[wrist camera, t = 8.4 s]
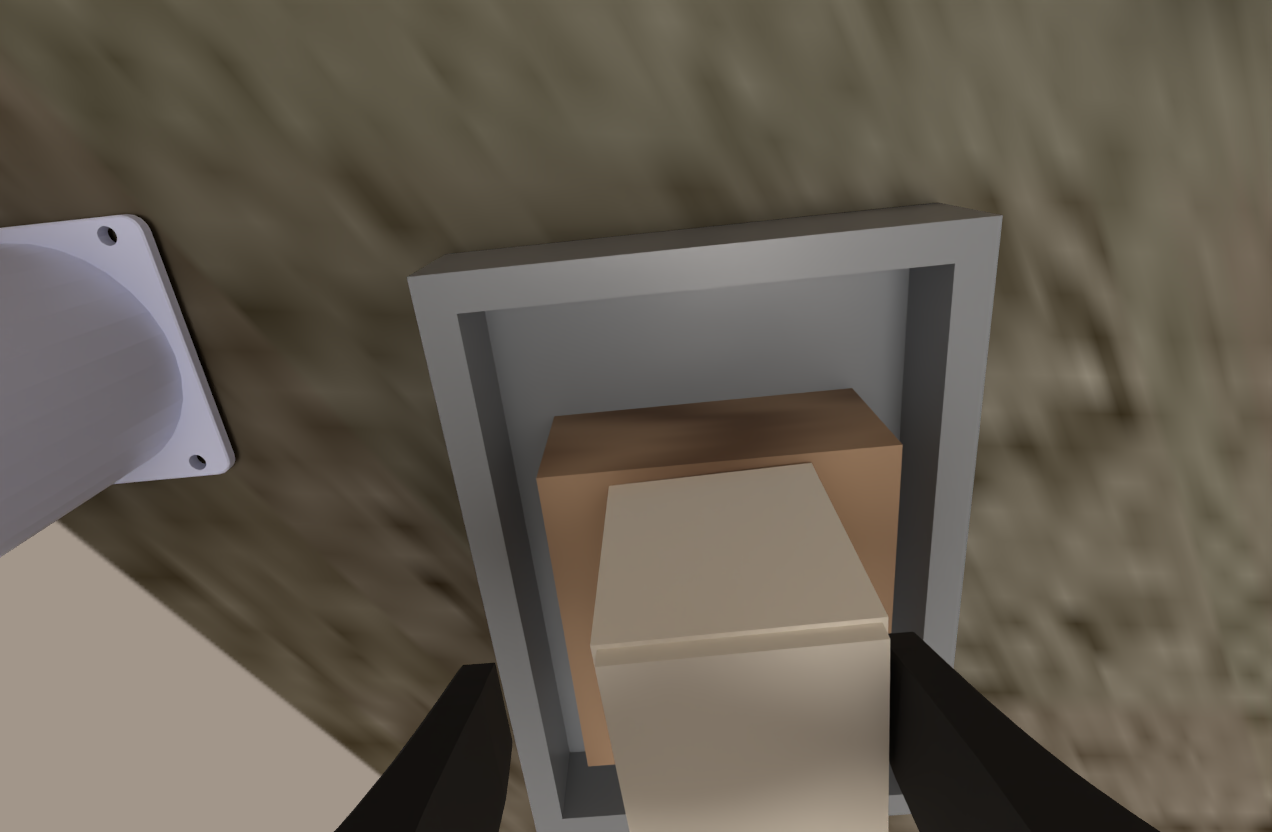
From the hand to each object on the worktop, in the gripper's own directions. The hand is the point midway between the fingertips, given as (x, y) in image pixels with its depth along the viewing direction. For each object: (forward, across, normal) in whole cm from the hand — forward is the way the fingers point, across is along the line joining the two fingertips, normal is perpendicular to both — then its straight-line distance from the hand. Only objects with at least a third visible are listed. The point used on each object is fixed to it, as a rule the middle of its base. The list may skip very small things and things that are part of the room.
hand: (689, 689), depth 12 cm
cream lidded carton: (+5, -1, +2) cm, 6 cm away
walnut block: (+9, -1, +3) cm, 10 cm away
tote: (+10, -1, +3) cm, 10 cm away
